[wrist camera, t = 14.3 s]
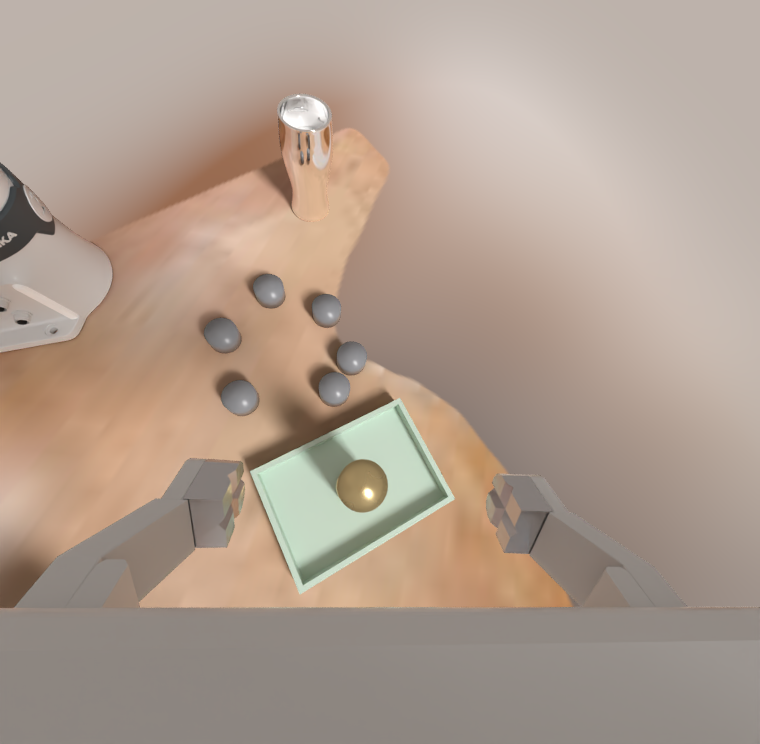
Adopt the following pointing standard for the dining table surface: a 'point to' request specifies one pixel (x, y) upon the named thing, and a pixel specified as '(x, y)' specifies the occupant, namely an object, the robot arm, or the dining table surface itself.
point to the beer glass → (306, 153)
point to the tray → (325, 509)
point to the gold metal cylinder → (362, 485)
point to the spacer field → (325, 314)
